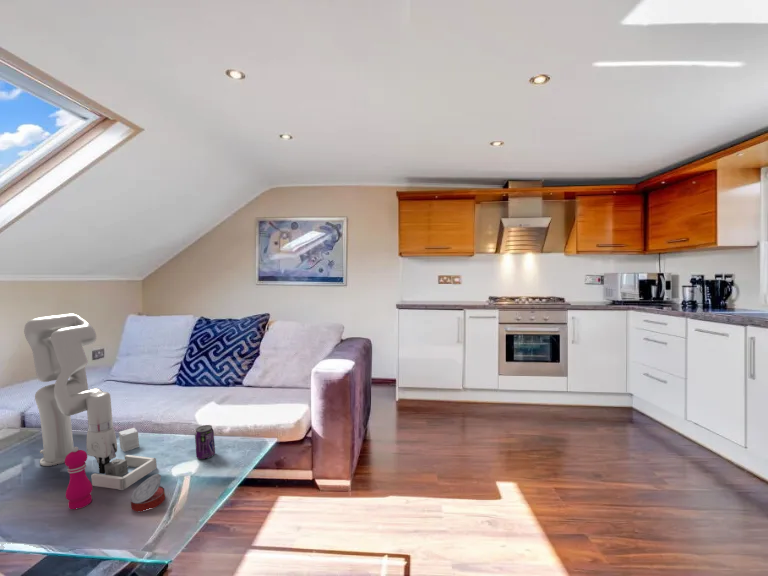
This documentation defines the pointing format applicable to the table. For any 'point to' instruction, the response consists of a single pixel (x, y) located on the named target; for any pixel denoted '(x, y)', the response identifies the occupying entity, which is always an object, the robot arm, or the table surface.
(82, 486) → the pepper mill
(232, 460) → the table surface
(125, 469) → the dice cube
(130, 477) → the box
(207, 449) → the beverage can
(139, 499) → the canned food
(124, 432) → the skincare box
